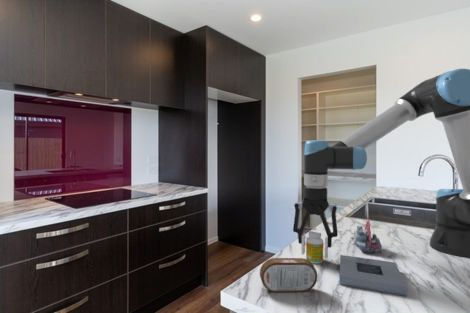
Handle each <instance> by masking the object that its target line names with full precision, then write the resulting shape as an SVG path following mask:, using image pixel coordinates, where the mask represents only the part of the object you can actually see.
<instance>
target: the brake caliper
mask: <svg viewBox="0 0 470 313" xmlns="http://www.w3.org/2000/svg"><path fill="white" fill-rule="evenodd" d="M371 233H372V231H371V225H370V221H369V219H368V220H366V223H365V227H364V229H363V225H360V226H359V225H357V226H356V229H355V230H354V231H353V235H351V236H350V239H351V240H352V241H353V243H350V245H352V246H356V247H357V248H358V249H359V250H360V252H361V253H363V254H379V253H380V252H382V244H381V240H380V238H379V237H377V234H375V233H372V234H371Z"/></svg>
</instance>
